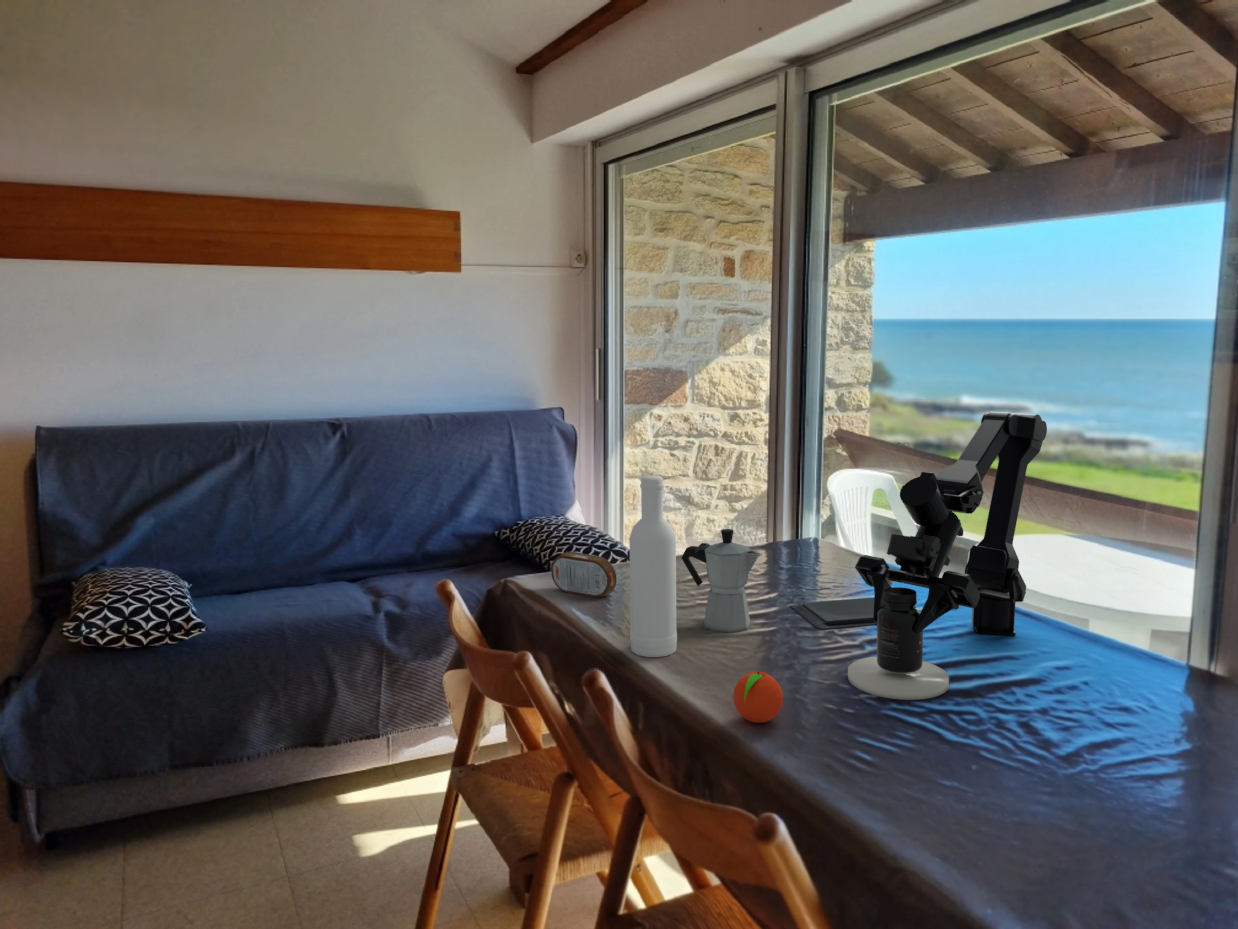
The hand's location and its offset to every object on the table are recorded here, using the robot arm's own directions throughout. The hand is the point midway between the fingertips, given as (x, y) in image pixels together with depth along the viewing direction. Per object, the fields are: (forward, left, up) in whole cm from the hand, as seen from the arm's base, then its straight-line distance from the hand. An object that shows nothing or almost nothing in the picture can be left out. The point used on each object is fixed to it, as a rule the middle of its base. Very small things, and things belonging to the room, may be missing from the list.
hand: (895, 626), depth 144 cm
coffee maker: (+30, -22, -9) cm, 39 cm away
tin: (+61, -35, -9) cm, 71 cm away
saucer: (-1, -1, -9) cm, 9 cm away
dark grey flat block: (+7, -34, -10) cm, 36 cm away
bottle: (+39, -6, -9) cm, 41 cm away
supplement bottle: (-1, -1, -7) cm, 7 cm away
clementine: (+19, +19, -9) cm, 28 cm away
